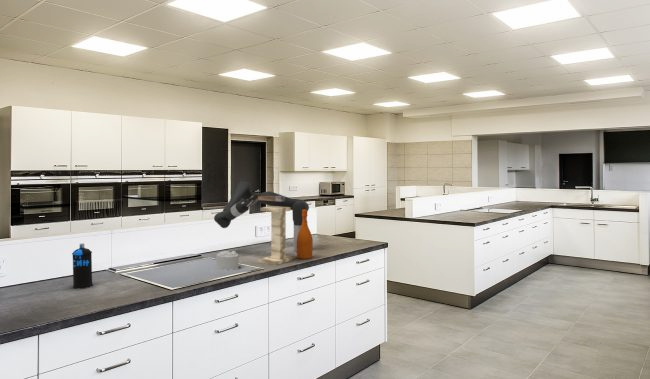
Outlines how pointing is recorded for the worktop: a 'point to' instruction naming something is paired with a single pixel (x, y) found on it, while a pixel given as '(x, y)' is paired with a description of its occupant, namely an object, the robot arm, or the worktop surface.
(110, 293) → the worktop surface
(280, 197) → the rod
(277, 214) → the stand
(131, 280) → the worktop surface
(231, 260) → the lumpy-topped squat cylinder
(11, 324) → the worktop surface
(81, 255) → the aerosol can
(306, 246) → the wine bottle
